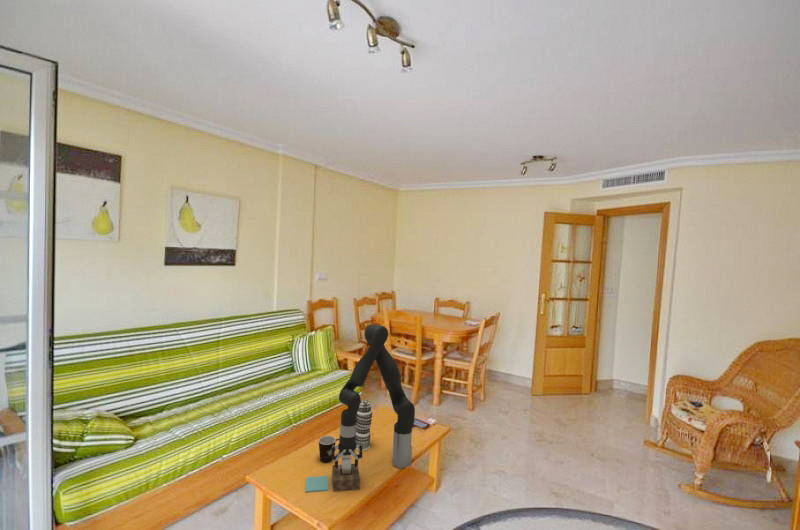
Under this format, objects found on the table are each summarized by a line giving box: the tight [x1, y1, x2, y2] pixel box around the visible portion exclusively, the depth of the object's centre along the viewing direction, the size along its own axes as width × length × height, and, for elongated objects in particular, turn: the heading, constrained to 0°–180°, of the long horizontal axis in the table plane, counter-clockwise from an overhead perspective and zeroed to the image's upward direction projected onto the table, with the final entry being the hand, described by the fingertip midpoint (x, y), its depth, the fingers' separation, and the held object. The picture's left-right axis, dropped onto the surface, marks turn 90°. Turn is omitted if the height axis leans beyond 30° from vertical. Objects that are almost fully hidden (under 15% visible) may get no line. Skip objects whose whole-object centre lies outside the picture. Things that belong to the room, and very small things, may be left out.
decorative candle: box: [355, 399, 373, 452], centre depth 202 cm, size 9×9×25 cm
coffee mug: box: [318, 435, 339, 464], centre depth 189 cm, size 12×9×10 cm
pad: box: [304, 475, 329, 493], centre depth 168 cm, size 10×10×1 cm
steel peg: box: [341, 454, 352, 475], centre depth 171 cm, size 4×4×12 cm
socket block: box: [331, 463, 361, 493], centre depth 171 cm, size 12×12×5 cm
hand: (346, 467), depth 171 cm, fingers open, 8 cm apart
